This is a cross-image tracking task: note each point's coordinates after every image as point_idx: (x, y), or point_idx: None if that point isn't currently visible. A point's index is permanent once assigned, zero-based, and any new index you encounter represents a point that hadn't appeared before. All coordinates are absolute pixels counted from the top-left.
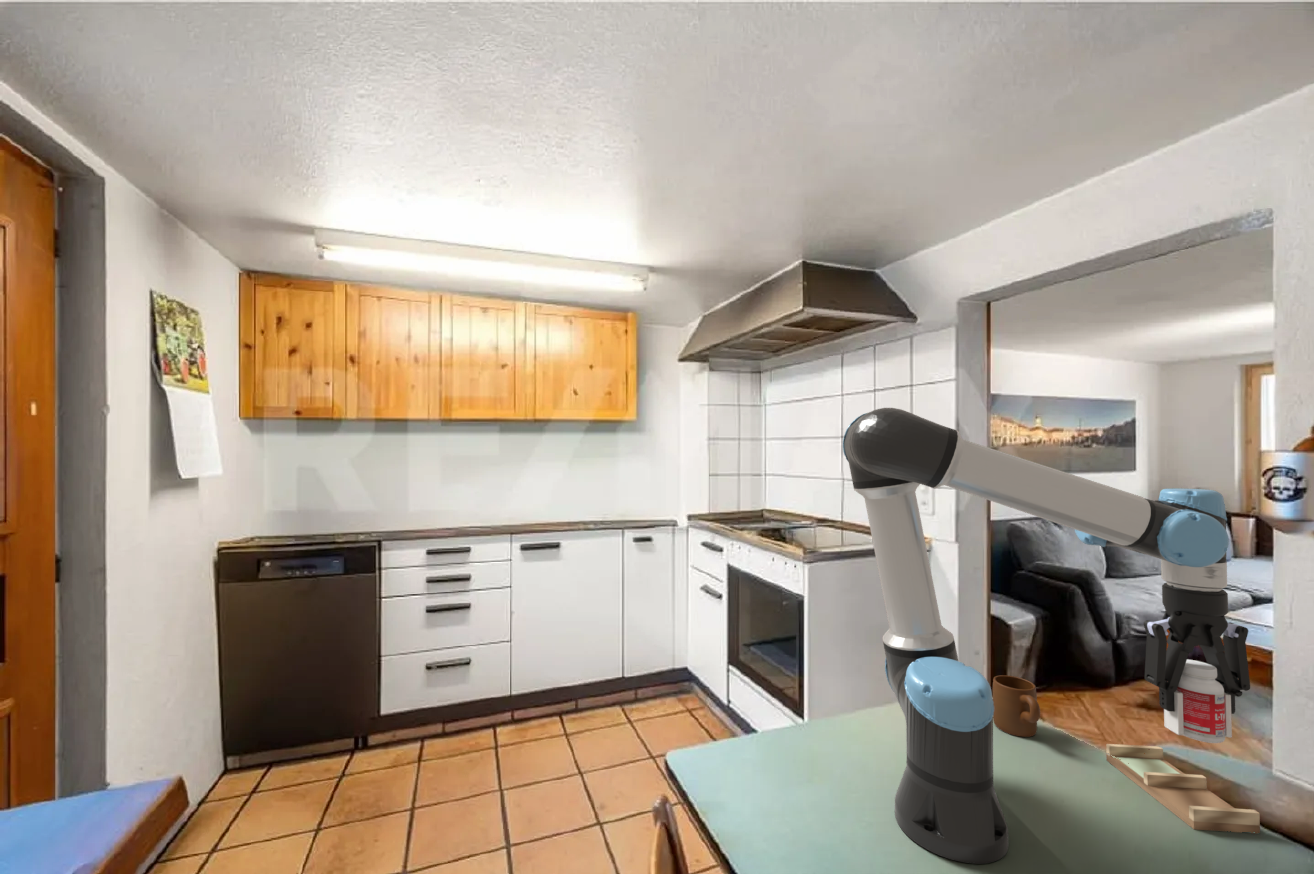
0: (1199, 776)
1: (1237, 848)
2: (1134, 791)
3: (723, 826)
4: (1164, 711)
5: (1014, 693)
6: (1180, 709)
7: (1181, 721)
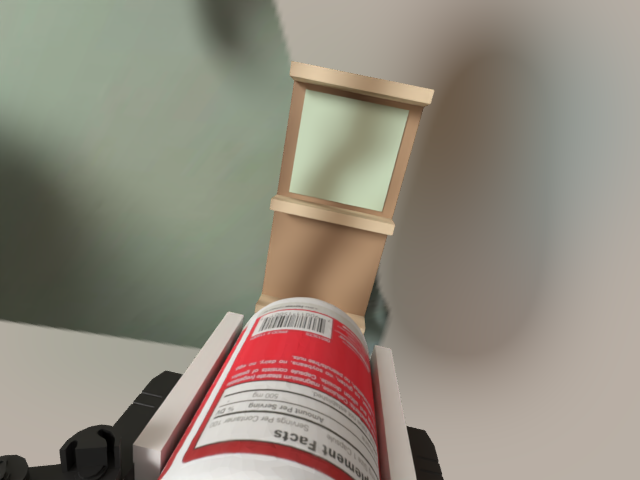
0: (381, 229)
1: None
2: (257, 193)
3: None
4: (204, 346)
5: None
6: None
7: None
